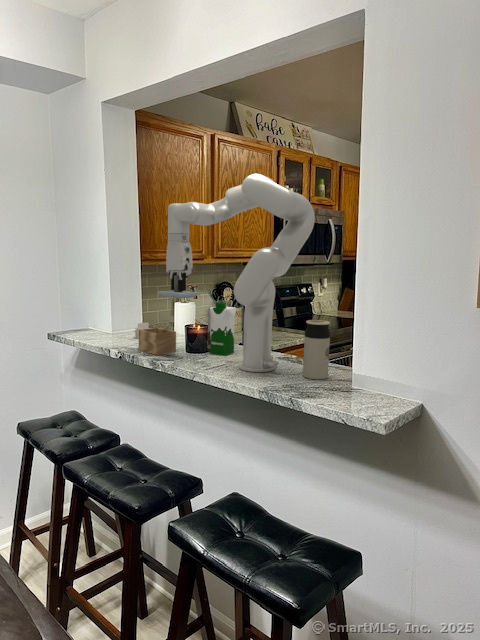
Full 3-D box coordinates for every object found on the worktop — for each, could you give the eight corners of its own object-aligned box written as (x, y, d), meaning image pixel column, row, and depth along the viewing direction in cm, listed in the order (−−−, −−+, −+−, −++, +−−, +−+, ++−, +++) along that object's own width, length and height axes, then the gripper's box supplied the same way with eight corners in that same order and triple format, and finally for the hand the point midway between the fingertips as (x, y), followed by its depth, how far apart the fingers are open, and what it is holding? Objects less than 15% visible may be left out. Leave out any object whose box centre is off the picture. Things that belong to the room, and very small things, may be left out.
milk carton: (206, 353, 182) (207, 302, 179) (217, 349, 190) (218, 300, 187) (227, 356, 178) (228, 303, 175) (237, 352, 186) (238, 301, 183)
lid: (199, 297, 170) (200, 275, 169) (179, 298, 164) (179, 276, 162) (177, 294, 179) (177, 274, 178) (157, 296, 172) (157, 274, 171)
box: (175, 351, 184) (176, 331, 183) (157, 355, 177) (157, 334, 176) (157, 347, 192) (157, 327, 191) (138, 350, 186) (138, 329, 184)
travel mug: (298, 376, 152) (300, 321, 149) (311, 372, 158) (313, 319, 155) (319, 381, 146) (322, 324, 144) (332, 376, 152) (335, 321, 150)
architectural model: (133, 339, 211) (133, 322, 210) (146, 337, 216) (146, 321, 215) (137, 340, 208) (137, 323, 207) (150, 338, 213) (150, 322, 212)
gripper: (201, 239, 166) (201, 291, 168) (172, 239, 177) (172, 288, 179) (185, 238, 160) (185, 292, 163) (156, 238, 171) (156, 289, 174)
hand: (178, 290), depth 171 cm, fingers closed on lid, 3 cm apart
